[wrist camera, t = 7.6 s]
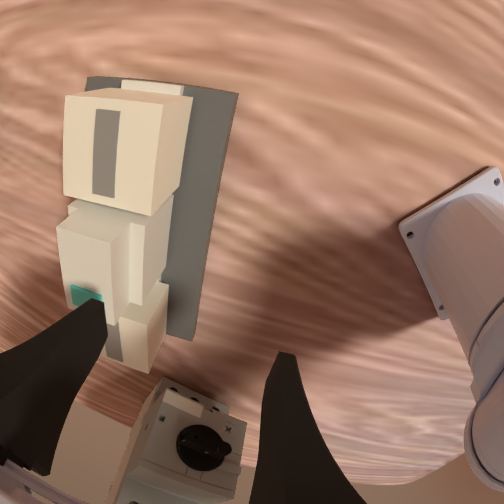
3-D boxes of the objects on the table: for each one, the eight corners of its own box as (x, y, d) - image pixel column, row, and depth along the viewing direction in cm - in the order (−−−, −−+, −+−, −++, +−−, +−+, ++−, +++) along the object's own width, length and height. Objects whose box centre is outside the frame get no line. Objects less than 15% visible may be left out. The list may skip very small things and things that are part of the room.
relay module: (106, 178, 18) (41, 224, 12) (173, 194, 18) (123, 250, 12) (105, 248, 20) (55, 305, 15) (165, 266, 20) (126, 333, 15)
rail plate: (96, 76, 16) (35, 85, 11) (238, 93, 16) (213, 100, 11) (96, 301, 25) (64, 346, 20) (195, 332, 25) (175, 387, 20)
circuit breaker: (262, 380, 27) (237, 540, 15) (198, 430, 34) (169, 538, 22) (187, 344, 26) (128, 509, 13) (142, 404, 33) (100, 513, 20)
